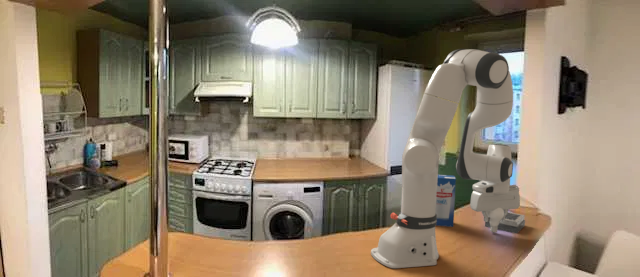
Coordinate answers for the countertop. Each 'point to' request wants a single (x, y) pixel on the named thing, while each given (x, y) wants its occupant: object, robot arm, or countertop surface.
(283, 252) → the countertop surface
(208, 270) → the countertop surface
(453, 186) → the milk carton
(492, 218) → the lightbulb
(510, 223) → the socket
